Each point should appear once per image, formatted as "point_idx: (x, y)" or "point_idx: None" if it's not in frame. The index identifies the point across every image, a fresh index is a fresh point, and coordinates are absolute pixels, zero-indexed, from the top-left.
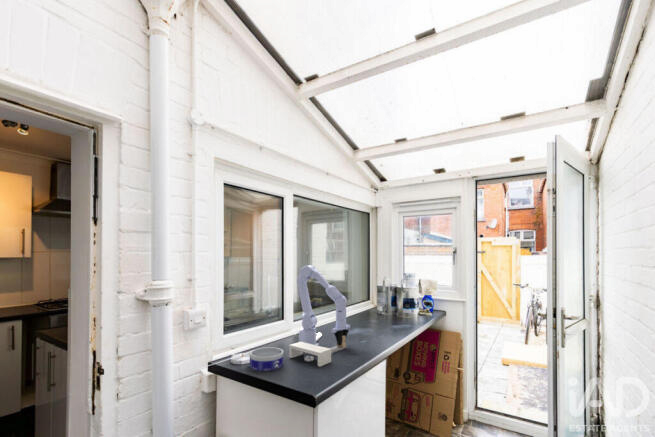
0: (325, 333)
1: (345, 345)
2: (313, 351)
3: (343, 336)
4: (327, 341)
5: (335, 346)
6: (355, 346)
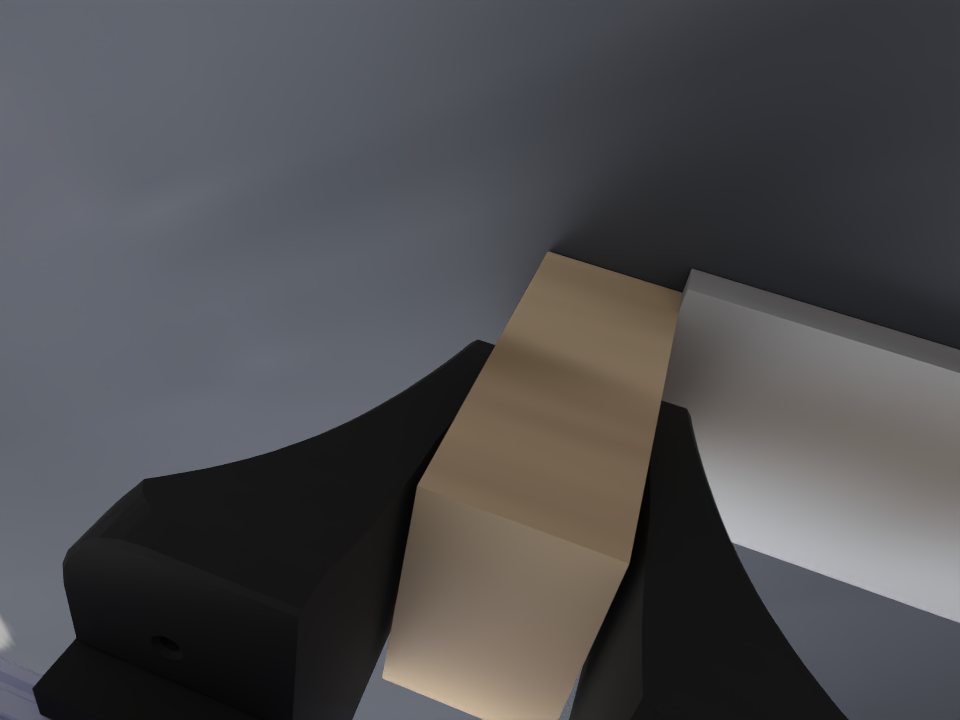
0: None
1: (530, 283)
2: None
3: (567, 534)
4: None
5: None
6: (256, 25)
